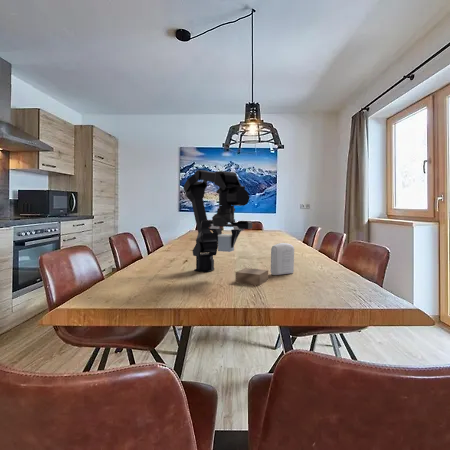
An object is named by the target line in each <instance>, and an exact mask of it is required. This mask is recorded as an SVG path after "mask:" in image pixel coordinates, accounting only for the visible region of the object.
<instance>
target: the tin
mask: <svg viewBox="0 0 450 450" xmlns="http://www.w3.org/2000/svg"><path fill="white" fill-rule="evenodd" d="M231 240H232V233H231V234H227V233H222V234H220V235H218V249H217V252H223V253H224V252H227V253H230V252H233V251H234V250H235V246H234V247H233V248H231Z"/></svg>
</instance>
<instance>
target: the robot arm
mask: <svg viewBox="0 0 450 450" xmlns="http://www.w3.org/2000/svg"><path fill="white" fill-rule="evenodd" d="M208 182H210V183H213V184H214V185H215V186H217V187H219V188H218V189H217V190H216V192H215V194H218V207H217V210H216V213H215V214H214V215H212V217H211V219H208V217H207V213H206V211H207V210H206V208H205V203H204V196H205V194H206V189H207V187H208ZM183 191H184V193H185V196H186V198H187V199H188V200H189V201H190V202H191V206H192V210H193V215H194V219H195V225H196V229H197V236H196V237H195V245H194V247H193V249H192V256H194V257H195V258H196V260H195V265H196V266H195V268H194V272H205V273H209V272H212V271H213V270H214V271H215V259H214V256H217V252H218V235H220V234H223V229H222V228H223V227H226V228H233V229H231V230H230V231H231V234H232V240H231V248H233V247H234V248H235V244H236V242H237V240H238V237H239V235H240V233H241V232H242V231H243V232H244V230H251V229H253V222H252V221H251V220H238V221H236V219H235V212H236V208H235V206H237V207H239V206H240V207H241V206H242V207H244V206H246V205H247V204H248V203H249V202H250V194H249V192H248V190H246V186H245V185H242V184H241V182H240V179H239V178H238V176H237V173H236V172H235V171H223V170H221V171H216V172H214V171H208V170H206V169H205V170H204V169H198V170H196V171H195V173H194V174H193V175H191V176H189V177H188V178H187V179H186V181H185V183H184V185H183Z"/></svg>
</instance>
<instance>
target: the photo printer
mask: <svg viewBox="0 0 450 450" xmlns="http://www.w3.org/2000/svg"><path fill="white" fill-rule="evenodd" d="M294 269H295V247H294V245H293V244H291V243H287V242H280V243H276V244H273V245H272V247H271V249H270V274H271V275H273V276H280V275H287V274H293V273H294V271H295V270H294Z"/></svg>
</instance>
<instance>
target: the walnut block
mask: <svg viewBox="0 0 450 450" xmlns="http://www.w3.org/2000/svg"><path fill="white" fill-rule="evenodd" d="M267 280H268V281H269V269H258V268H252V267H251V268H249V267H244V268H242V269H239V270H238V271H237V270H236V272H235V283H236V282H238V284H244V283H246V285H253V286H254V285H255V286H261V285H262V284H264V283H266V282H268V281H267Z"/></svg>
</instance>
